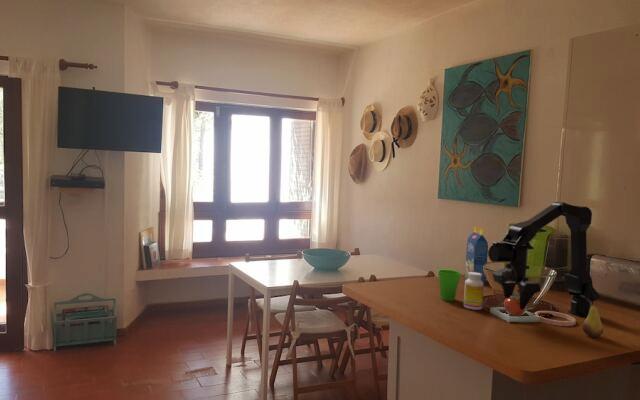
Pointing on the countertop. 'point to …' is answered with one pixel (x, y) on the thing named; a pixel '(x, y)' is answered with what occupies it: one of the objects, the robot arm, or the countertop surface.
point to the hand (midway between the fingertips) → (514, 306)
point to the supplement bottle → (473, 291)
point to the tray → (514, 319)
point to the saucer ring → (554, 322)
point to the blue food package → (476, 253)
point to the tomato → (513, 306)
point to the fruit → (593, 323)
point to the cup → (448, 283)
